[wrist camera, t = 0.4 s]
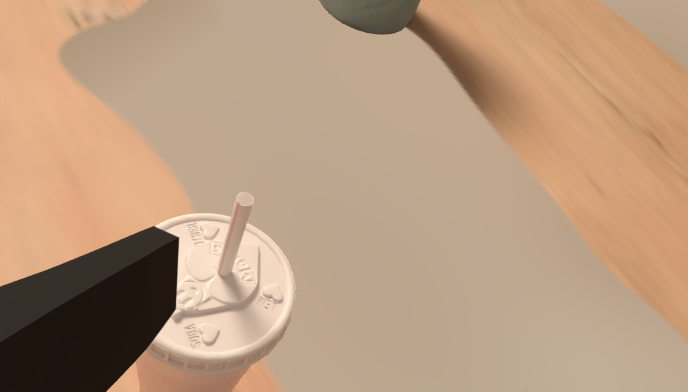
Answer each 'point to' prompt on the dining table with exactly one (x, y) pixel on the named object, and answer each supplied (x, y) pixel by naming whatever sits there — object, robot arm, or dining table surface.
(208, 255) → the smoothie
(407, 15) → the grey teal cup
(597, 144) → the dining table surface
